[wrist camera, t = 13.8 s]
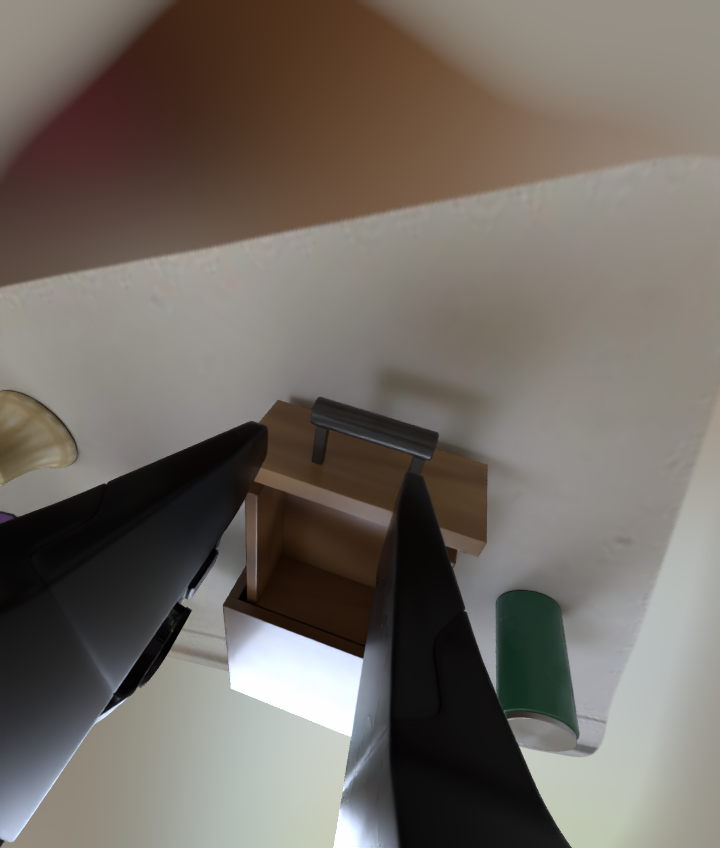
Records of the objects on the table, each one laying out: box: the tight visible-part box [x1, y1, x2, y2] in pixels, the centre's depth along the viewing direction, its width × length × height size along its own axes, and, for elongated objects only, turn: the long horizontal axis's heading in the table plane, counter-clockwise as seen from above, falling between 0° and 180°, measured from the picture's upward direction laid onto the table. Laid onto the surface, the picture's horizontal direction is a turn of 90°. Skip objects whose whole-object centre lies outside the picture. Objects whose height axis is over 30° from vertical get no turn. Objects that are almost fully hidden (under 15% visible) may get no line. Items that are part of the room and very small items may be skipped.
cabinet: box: [223, 566, 365, 737], centre depth 35 cm, size 17×15×8 cm
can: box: [496, 591, 579, 752], centre depth 28 cm, size 5×5×8 cm
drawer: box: [245, 397, 488, 647], centre depth 25 cm, size 19×13×6 cm
